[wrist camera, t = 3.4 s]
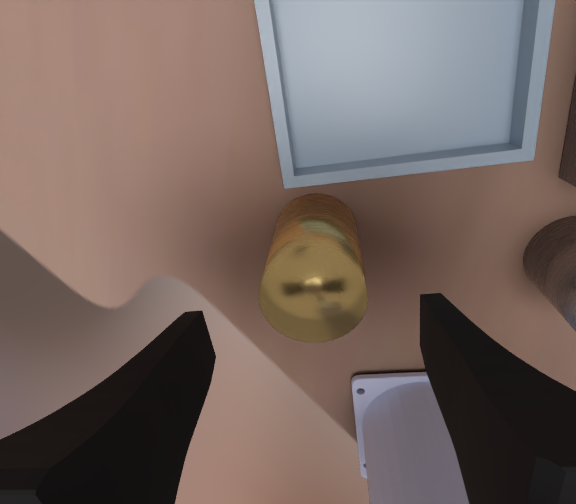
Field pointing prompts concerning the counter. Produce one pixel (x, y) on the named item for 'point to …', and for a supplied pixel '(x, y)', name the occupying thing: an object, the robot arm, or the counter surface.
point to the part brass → (314, 271)
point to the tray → (402, 84)
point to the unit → (570, 146)
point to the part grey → (555, 265)
